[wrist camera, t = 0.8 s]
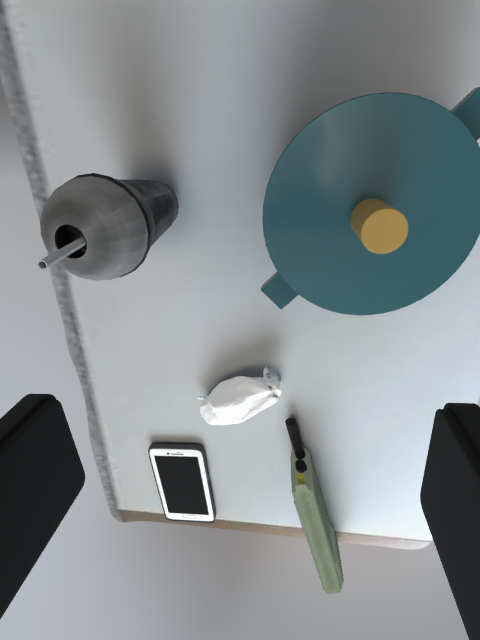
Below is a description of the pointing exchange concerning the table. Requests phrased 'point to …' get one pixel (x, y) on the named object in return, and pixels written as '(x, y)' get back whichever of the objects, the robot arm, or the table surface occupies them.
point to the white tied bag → (240, 398)
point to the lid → (374, 204)
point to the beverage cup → (104, 224)
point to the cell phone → (183, 482)
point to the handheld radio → (314, 513)
